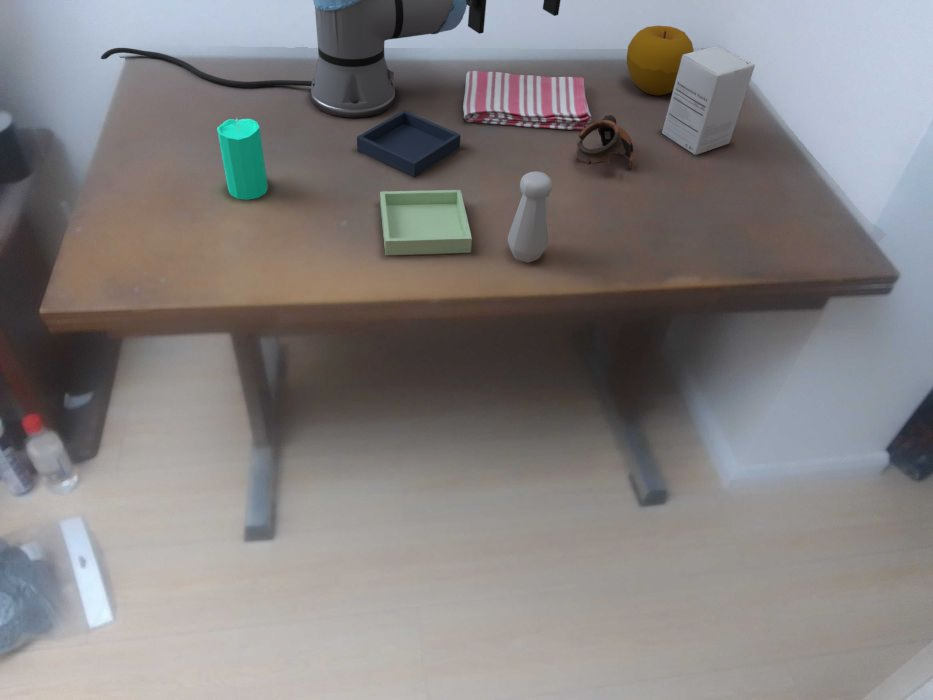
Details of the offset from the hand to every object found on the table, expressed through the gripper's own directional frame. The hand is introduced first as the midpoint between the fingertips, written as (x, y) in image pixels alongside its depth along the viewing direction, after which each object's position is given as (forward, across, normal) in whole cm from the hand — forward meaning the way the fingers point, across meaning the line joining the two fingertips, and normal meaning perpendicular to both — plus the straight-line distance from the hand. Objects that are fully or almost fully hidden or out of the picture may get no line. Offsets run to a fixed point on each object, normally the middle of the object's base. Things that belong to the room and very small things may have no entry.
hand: (514, 20), depth 109 cm
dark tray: (+25, -9, +13) cm, 30 cm away
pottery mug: (+25, +18, -6) cm, 32 cm away
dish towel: (+25, +18, +16) cm, 35 cm away
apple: (+25, +46, +9) cm, 53 cm away
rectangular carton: (+25, +38, -9) cm, 47 cm away
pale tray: (+25, -19, -7) cm, 32 cm away
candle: (+25, -37, +15) cm, 47 cm away
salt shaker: (+25, -10, -20) cm, 33 cm away
